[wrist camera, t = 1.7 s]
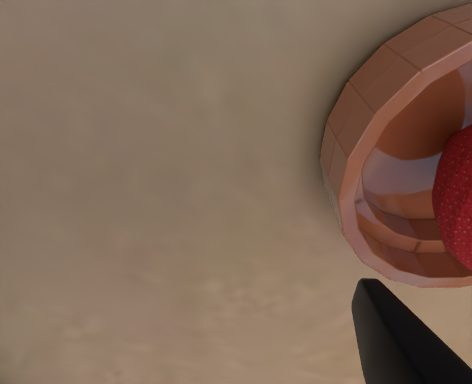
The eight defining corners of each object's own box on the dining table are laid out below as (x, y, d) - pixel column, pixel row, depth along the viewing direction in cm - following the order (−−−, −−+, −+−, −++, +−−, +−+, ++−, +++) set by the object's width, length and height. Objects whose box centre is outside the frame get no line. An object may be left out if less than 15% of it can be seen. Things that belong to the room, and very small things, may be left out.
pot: (374, 264, 28) (400, 320, 24) (272, 106, 21) (285, 148, 17) (595, 164, 24) (668, 211, 20) (560, -73, 17) (662, -71, 13)
